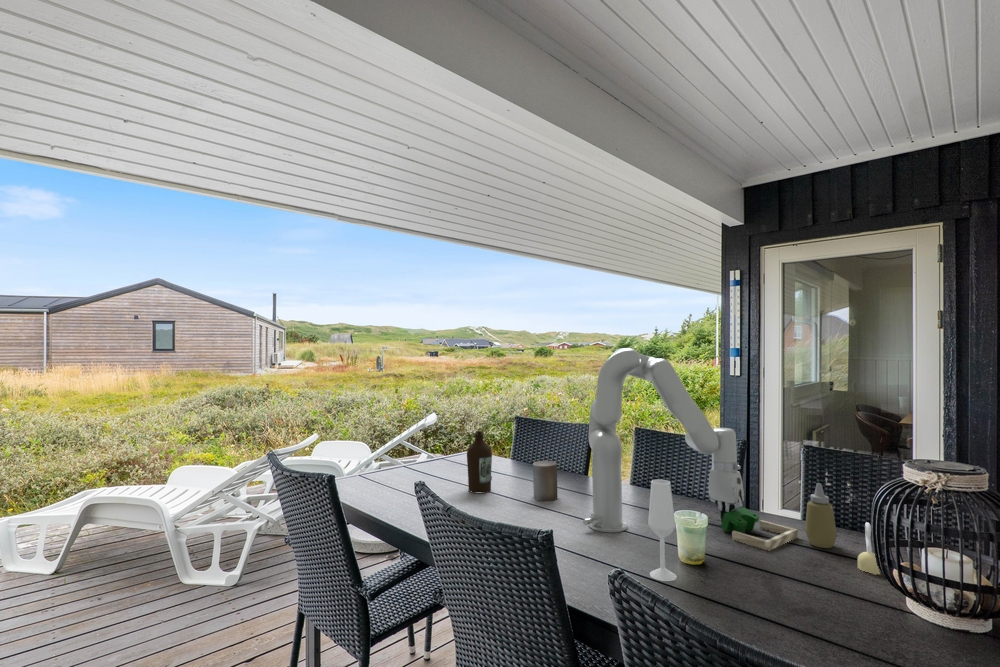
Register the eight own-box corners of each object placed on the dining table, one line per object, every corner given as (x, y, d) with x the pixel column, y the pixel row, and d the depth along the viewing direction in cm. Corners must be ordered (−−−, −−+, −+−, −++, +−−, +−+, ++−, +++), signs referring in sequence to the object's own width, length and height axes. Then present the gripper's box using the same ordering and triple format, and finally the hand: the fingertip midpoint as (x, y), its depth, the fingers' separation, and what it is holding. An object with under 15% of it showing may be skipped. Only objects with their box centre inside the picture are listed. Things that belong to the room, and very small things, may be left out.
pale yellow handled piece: (883, 576, 129) (881, 528, 129) (858, 571, 132) (856, 524, 132) (881, 567, 134) (879, 521, 135) (856, 563, 137) (855, 518, 137)
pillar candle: (561, 496, 203) (560, 458, 204) (550, 502, 195) (549, 463, 196) (540, 493, 209) (539, 456, 209) (528, 499, 200) (527, 461, 201)
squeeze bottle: (833, 541, 152) (830, 481, 153) (841, 551, 145) (839, 488, 145) (802, 538, 155) (800, 479, 156) (809, 548, 147) (806, 486, 148)
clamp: (738, 548, 159) (737, 526, 155) (721, 537, 164) (720, 516, 160) (760, 527, 164) (761, 506, 160) (743, 517, 169) (743, 496, 165)
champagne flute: (655, 567, 136) (653, 477, 137) (680, 574, 131) (678, 481, 132) (645, 576, 131) (643, 482, 131) (670, 583, 126) (668, 486, 127)
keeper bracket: (769, 551, 146) (768, 542, 146) (732, 539, 155) (731, 531, 155) (798, 537, 156) (797, 529, 156) (761, 527, 165) (761, 519, 165)
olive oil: (462, 490, 214) (461, 431, 215) (480, 485, 221) (480, 428, 222) (478, 495, 206) (478, 433, 207) (497, 490, 214) (496, 430, 215)
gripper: (752, 468, 163) (754, 526, 162) (710, 460, 175) (711, 514, 174) (740, 472, 158) (742, 531, 158) (697, 464, 171) (699, 519, 170)
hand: (726, 522), depth 166 cm, fingers closed
